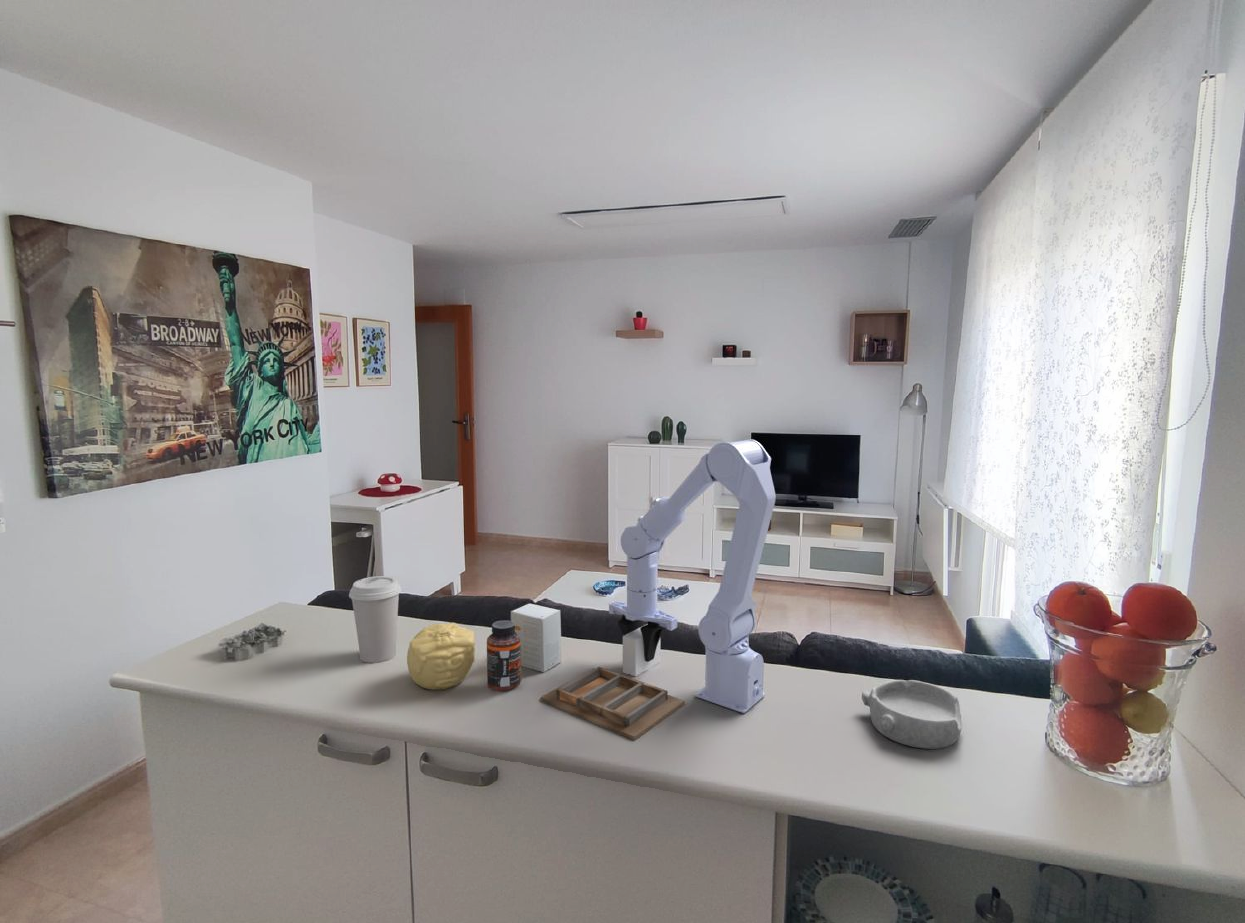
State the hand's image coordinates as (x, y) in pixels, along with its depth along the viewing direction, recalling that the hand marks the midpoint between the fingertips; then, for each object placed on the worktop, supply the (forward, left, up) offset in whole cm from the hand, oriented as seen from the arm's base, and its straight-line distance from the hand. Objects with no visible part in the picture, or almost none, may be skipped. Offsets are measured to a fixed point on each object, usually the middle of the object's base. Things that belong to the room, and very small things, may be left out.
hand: (641, 657), depth 120 cm
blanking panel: (0, 0, -2) cm, 2 cm away
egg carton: (+67, +42, -2) cm, 79 cm away
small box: (+17, +11, -2) cm, 20 cm away
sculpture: (+25, +27, -2) cm, 37 cm away
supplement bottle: (+15, +21, -2) cm, 26 cm away
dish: (-46, -9, -2) cm, 47 cm away
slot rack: (-4, +14, -2) cm, 15 cm away
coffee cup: (+44, +28, -2) cm, 52 cm away
